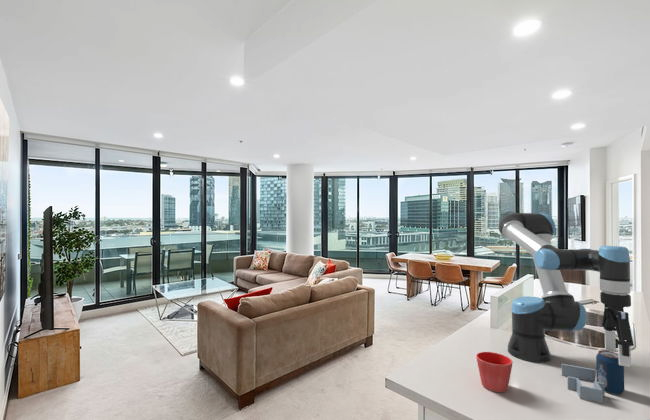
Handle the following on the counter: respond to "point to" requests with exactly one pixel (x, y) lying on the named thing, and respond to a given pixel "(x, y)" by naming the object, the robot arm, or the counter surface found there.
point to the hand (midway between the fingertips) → (617, 357)
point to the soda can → (610, 372)
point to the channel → (574, 384)
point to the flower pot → (494, 370)
